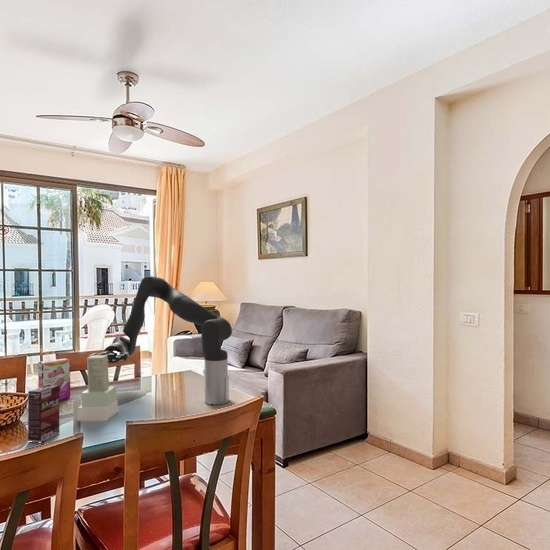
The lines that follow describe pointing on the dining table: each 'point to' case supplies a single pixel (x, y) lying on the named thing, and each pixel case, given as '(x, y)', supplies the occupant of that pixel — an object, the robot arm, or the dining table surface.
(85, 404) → the tower top block
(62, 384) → the candy bar box
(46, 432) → the supplement box
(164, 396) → the dining table surface
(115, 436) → the dining table surface
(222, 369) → the robot arm
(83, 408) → the tower base block
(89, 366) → the skincare box
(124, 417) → the dining table surface
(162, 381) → the dining table surface
